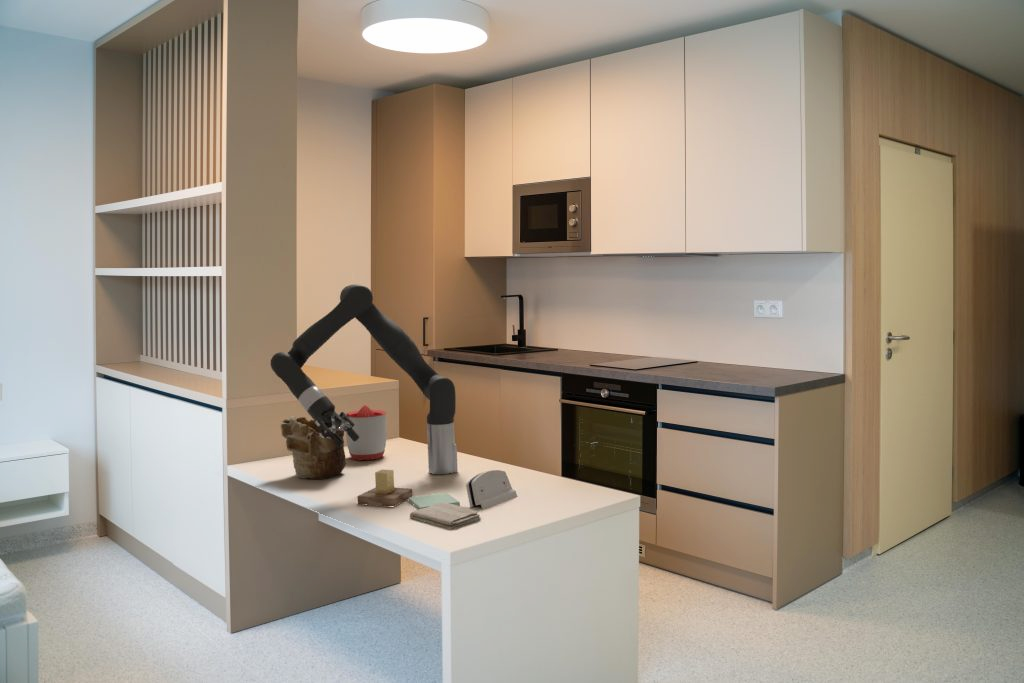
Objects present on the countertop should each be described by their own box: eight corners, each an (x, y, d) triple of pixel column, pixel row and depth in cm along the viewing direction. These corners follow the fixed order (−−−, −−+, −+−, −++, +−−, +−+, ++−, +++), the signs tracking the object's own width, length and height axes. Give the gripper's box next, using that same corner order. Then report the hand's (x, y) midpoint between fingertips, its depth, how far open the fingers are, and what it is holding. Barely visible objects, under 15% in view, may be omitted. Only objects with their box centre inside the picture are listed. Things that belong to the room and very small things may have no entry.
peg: (383, 498, 252) (381, 469, 251) (394, 499, 250) (393, 470, 250) (376, 501, 248) (375, 472, 247) (388, 502, 246) (386, 473, 246)
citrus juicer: (343, 454, 317) (341, 403, 315) (389, 452, 319) (386, 401, 317) (339, 463, 302) (336, 409, 300) (387, 461, 303) (385, 407, 302)
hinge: (482, 509, 237) (472, 475, 238) (471, 512, 239) (461, 479, 241) (518, 496, 250) (508, 464, 251) (506, 499, 253) (497, 467, 254)
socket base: (378, 494, 257) (378, 486, 257) (412, 496, 252) (412, 488, 252) (357, 504, 246) (357, 496, 245) (393, 507, 241) (392, 498, 241)
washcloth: (452, 531, 218) (452, 520, 218) (407, 520, 230) (407, 509, 230) (483, 521, 227) (483, 510, 227) (438, 510, 239) (438, 499, 239)
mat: (446, 495, 253) (446, 492, 253) (459, 505, 242) (459, 501, 242) (408, 500, 248) (408, 497, 248) (420, 510, 237) (420, 507, 237)
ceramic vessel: (382, 447, 287) (342, 397, 274) (338, 501, 275) (294, 452, 262) (344, 438, 303) (305, 391, 290) (301, 489, 291) (258, 442, 278)
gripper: (309, 398, 247) (344, 438, 244) (336, 392, 261) (369, 430, 257) (295, 415, 250) (329, 455, 246) (322, 408, 263) (355, 445, 260)
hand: (349, 442), depth 252 cm, fingers open, 8 cm apart
